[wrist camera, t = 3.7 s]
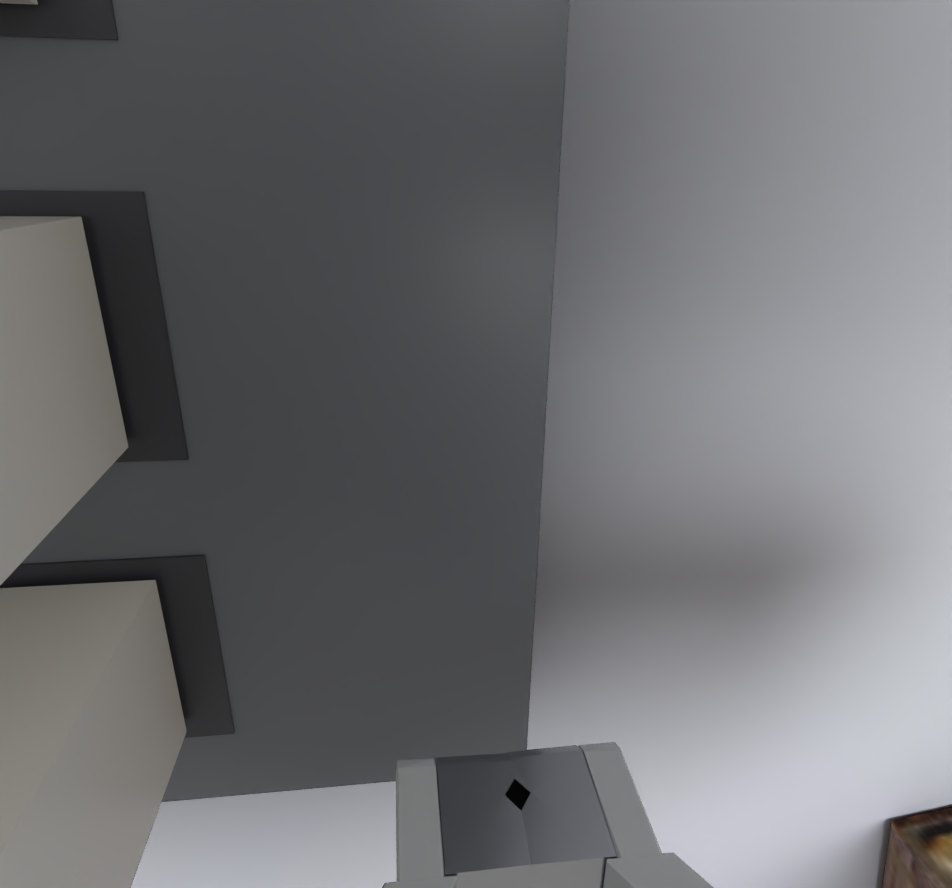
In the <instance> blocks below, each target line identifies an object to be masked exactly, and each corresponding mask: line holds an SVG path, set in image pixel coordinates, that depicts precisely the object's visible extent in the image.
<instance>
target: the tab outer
mask: <svg viewBox="0 0 952 888" xmlns="http://www.w3.org/2000/svg"><path fill="white" fill-rule="evenodd" d="M186 732H187V731H186V726H185V721H184V716H183V711H182V706H181V701H180V696H179V691H178V687H177V682H176V677H175V672H174V667H173V662H172V657H171V652H170V647H169V643H168V638H167V633H166V628H165V623H164V618H163V613H162V608H161V603H160V599H159V594H158V589H157V584H156V580H144V581H125V582H107V583H88V584H70V585H51V586H32V587H14V588H0V888H131V885H132V882H133V879H134V876H135V874H136V871H137V868H138V865H139V863H140V860H141V857H142V854H143V851H144V849H145V846H146V843H147V840H148V838H149V835H150V832H151V829H152V826H153V824H154V821H155V818H156V815H157V813H158V810H159V807H160V804H161V801H162V799H163V796H164V793H165V790H166V788H167V785H168V782H169V779H170V776H171V774H172V771H173V768H174V765H175V762H176V760H177V757H178V754H179V751H180V749H181V746H182V743H183V740H184V737H185V735H186Z"/></svg>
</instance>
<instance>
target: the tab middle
mask: <svg viewBox="0 0 952 888" xmlns="http://www.w3.org/2000/svg"><path fill="white" fill-rule="evenodd" d="M127 448H128V442H127V437H126V432H125V427H124V422H123V418H122V413H121V408H120V403H119V398H118V393H117V388H116V383H115V378H114V374H113V369H112V364H111V359H110V354H109V349H108V344H107V339H106V334H105V330H104V325H103V320H102V315H101V310H100V305H99V300H98V295H97V290H96V286H95V281H94V276H93V271H92V266H91V261H90V256H89V251H88V246H87V242H86V237H85V232H84V227H83V222H82V217H65V216H0V585H1V584H2V583H3V582H4V581H5V580H6V579H7V578H8V577H9V576H10V575H11V574H12V572H13V571H14V570H15V569H16V568H17V567H18V566H19V565H20V564H21V563H22V562H23V561H24V560H25V558H26V557H27V556H28V555H29V554H30V553H31V552H32V551H33V550H34V549H35V548H36V547H37V545H38V544H39V543H40V542H41V541H42V540H43V539H44V538H45V537H46V536H47V535H48V534H49V533H50V531H51V530H52V529H53V528H54V527H55V526H56V525H57V524H58V523H59V522H60V521H61V520H62V519H63V517H64V516H65V515H66V514H67V513H68V512H69V511H70V510H71V509H72V508H73V507H74V506H75V504H76V503H77V502H78V501H79V500H80V499H81V498H82V497H83V496H84V495H85V494H86V493H87V492H88V490H89V489H90V488H91V487H92V486H93V485H94V484H95V483H96V482H97V481H98V480H99V479H100V477H101V476H102V475H103V474H104V473H105V472H106V471H107V470H108V469H109V468H110V467H111V466H112V465H113V463H114V462H115V461H116V460H117V459H118V458H119V457H120V456H121V455H122V454H123V453H124V452H125V450H126V449H127Z"/></svg>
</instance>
